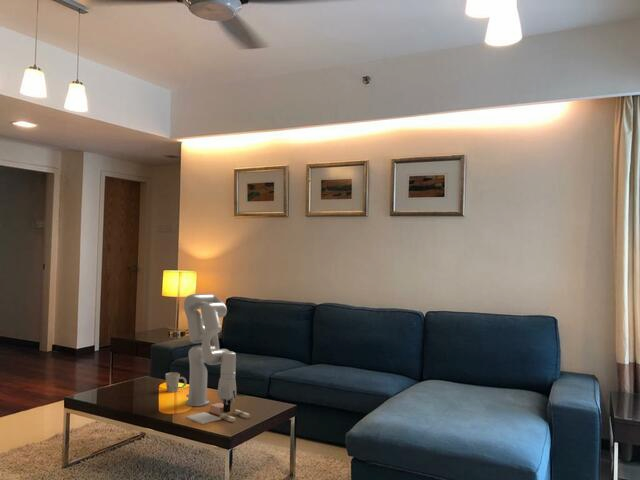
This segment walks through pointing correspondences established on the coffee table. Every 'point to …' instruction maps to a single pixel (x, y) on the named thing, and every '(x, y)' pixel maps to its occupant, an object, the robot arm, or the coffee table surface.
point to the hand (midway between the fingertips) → (226, 411)
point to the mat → (203, 418)
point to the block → (217, 408)
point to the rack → (233, 419)
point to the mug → (173, 381)
